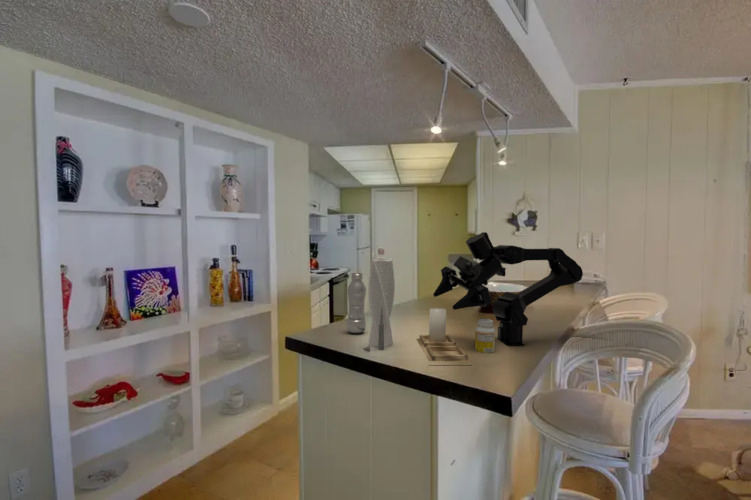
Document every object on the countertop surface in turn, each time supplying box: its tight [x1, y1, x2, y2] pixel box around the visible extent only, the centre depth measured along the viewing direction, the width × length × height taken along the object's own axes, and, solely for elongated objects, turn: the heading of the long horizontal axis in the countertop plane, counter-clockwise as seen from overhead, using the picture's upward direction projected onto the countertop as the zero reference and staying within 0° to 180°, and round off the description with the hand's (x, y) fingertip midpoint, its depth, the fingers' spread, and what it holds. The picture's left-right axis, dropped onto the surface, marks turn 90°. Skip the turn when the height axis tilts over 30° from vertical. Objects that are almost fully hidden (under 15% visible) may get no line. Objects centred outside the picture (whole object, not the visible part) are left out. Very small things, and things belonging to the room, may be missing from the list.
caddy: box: [416, 334, 473, 367], centre depth 111 cm, size 11×22×2 cm, turn 3°
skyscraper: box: [362, 251, 396, 352], centre depth 114 cm, size 8×8×28 cm
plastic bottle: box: [346, 272, 367, 334], centre depth 133 cm, size 6×7×20 cm
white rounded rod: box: [428, 307, 447, 342], centre depth 117 cm, size 5×5×10 cm
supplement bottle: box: [474, 318, 496, 354], centre depth 110 cm, size 5×5×10 cm
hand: (443, 301), depth 115 cm, fingers open, 9 cm apart
